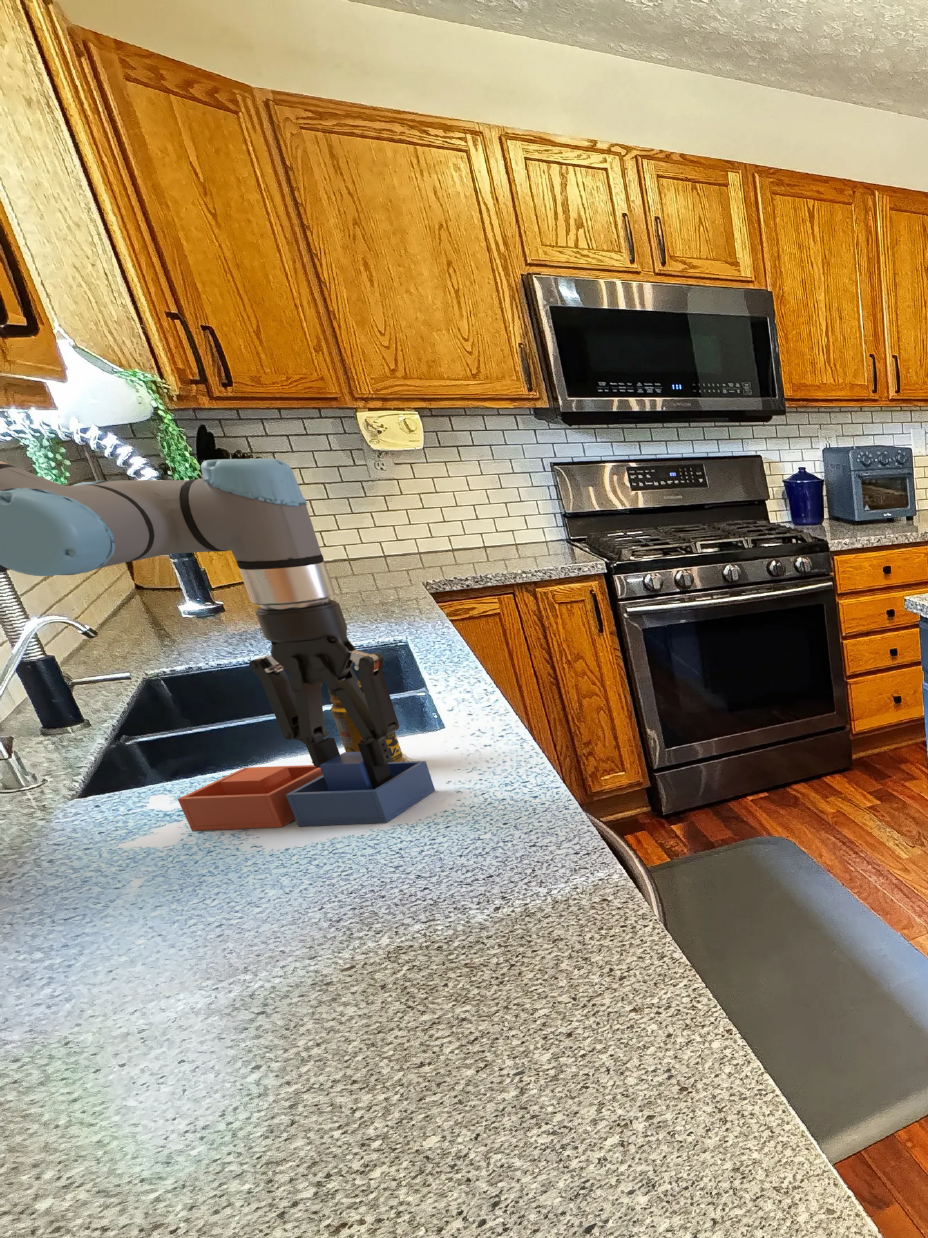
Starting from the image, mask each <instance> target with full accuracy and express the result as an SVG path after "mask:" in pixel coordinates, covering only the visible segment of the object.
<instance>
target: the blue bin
mask: <svg viewBox="0 0 928 1238" xmlns="http://www.w3.org/2000/svg"><path fill="white" fill-rule="evenodd" d="M408 761H409V762H389V763H387V764H388V767H389V769H390V772H391V775H392V779H391V780H389V781H387V782H386V783H384V784H382V785H381V786H379V787H377V788H376V789H374V790H350V791H329V789H328V787H327V784H326V781H325V779H324V776H323V775H322V776H320V777H318V778H316V779H314V780H312V781H311V782H309V783H307V784H305V785H303V786H301V787H299V788H297V789H296V790H294V791H292V792H290V793H288V794H286V797H287V799H288V802H289V804H290V807H291V809H292V812H293V814H294V817H295V822H296V824H297V826H298V827H312V826H313V827H314V826H317V827H318V826H339V825H363V824H385V823H389V822H390V821H392V820H393V819H395V818H396V817H398V816H399V815H401V814H402V813H404V812H406V810H409V808H411V807H412V806H414V805H415V804H417V803H418V802H420V801H421V800H423V799H425V798H426V797H428V796H429V795H430V794H432V793H433V792H435V791H436V789H435V786H434V782H433V780H432V779H433V778H432V776H431V773H430V769H429V765H428V764H427V761H426V760H408Z"/></svg>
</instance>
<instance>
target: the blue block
mask: <svg viewBox="0 0 928 1238" xmlns="http://www.w3.org/2000/svg"><path fill="white" fill-rule="evenodd" d="M320 767H321V770H322V772H323V775H324V778H325V780H326V783H327V786H328V789H329V791H350V790H374V789H373V786H372V783H371V780H370V777H369V775H368V772H367V769H366V766H365V763H364V761H363V758H362V755H361V752H346V751H345V752H343V753H340V755H338V756H336V757H334V758H333V759H331V760H329V761H327V762H325V763H323V764H321V765H320Z"/></svg>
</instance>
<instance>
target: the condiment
mask: <svg viewBox="0 0 928 1238" xmlns="http://www.w3.org/2000/svg"><path fill="white" fill-rule="evenodd" d="M358 686H359V687H360V689H361V691H362V692H363V689H362V686H361V683H360V680H359V679H358ZM327 688H328V687H327ZM327 693H328V695H329V697H330V702H331V703H332V706H331V708H330V711H331V715H332V717H333V721H334V723H335V725H336V728H337V731H338V734H339V736H340V740H341V742H342V746H343V748H344V750H345V752H360V750H359V747H358V743H360V742H359V741H360V740H362V739H363V738H362V736H361V735H360V733H359V731H358V730H357V728H356V727H355V725H354V723H353V722H352V720H351V718H350V717H349V715H348V713H347V712H346V710H345V709H344V707H343V705H342V704H341V702H340V700H339V699H338V697H337V696H336V694H335V692H333V691H331V690H329V688H328V689H327ZM363 694H364V692H363ZM364 696H365V695H364ZM385 739H386V743H387V746H388V748H389V751H390V754H391V762H409V761H410V760H408V758H407V757H406V756H405V754H404V753H403V751H402V749H401V746H400V742H399V740H398V737H397V733H396V731H395V732H393V733H391V734H389V735H387V736H386V737H385Z"/></svg>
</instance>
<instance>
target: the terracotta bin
mask: <svg viewBox="0 0 928 1238" xmlns="http://www.w3.org/2000/svg"><path fill="white" fill-rule="evenodd" d="M269 767H270V766H251V767H248V766H247V767H243V768H240V769H238V770H236V771H234V772H232V773H230V774H227V775H226V776H223V777H221V778H220V779H217V780H215V781H213V782H210V783H209V784H206V785H204V786H202V787H199V788H198V789H196V790H194V791H192V792H189V793H187V794H185V795H183V796H181V797H179V798H177V801H178V803H179V805H180V808H181V810H182V812H183V814H184V817H185V819H186V821H187V823H188V826H189V828H190V830H191V831H192V832H193V831H194V832H197V831H198V832H199V831H222V830H242V829H243V830H245V829H267V828H283V827H285V826H287V825H288V824H290V823H291V822H293V821H296V819H295V817H294V814H293V812H292V809H291V807H290V804H289V802H288V799H287V797H286V794H288V793H290V792H292V791H294V790H296V789H297V788H299V787H301V786H303V785H305V784H307V783H309V782H311V781H312V780H314V779H316V778H318V777H320V776H322V775H323V773H322V771H321V768H316V767H315V766H314V764H306V765H305V764H304V765H303V764H302V765H300V764H299V765H275V766H272V767H287V768H288V771H289V773H290V776H291V778H292V781H291V782H289V783H288V784H286V785H284V786H282V787H280V788H278V789H276V790H274V791H272V792H270V793H268V794H248V795H226V793H225V790H224V788H223V786H222V783H221V781H223V780H226V779H228V778H230V777H232V776H234V775H236V774H238V773H240V772H242V771H245V770H247V769H249V768H269Z"/></svg>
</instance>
